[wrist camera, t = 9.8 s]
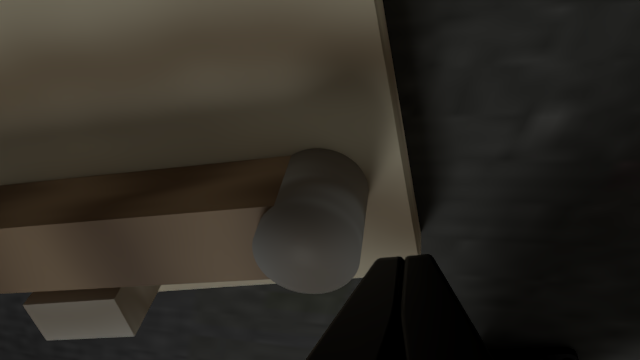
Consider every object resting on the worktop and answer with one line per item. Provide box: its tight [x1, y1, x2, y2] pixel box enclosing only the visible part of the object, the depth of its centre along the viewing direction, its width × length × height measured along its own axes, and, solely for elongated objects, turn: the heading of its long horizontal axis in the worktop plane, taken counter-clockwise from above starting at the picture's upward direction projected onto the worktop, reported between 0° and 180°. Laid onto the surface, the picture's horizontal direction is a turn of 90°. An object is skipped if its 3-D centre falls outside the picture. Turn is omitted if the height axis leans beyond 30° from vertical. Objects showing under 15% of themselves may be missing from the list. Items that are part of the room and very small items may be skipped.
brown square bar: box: [0, 148, 369, 294], centre depth 21 cm, size 15×3×4 cm, turn 102°
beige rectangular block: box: [0, 0, 421, 340], centre depth 20 cm, size 19×16×6 cm
